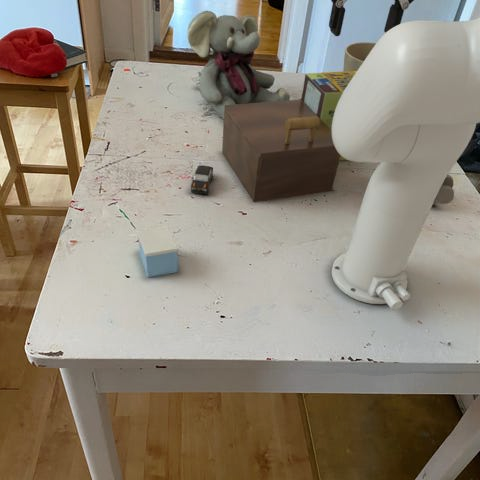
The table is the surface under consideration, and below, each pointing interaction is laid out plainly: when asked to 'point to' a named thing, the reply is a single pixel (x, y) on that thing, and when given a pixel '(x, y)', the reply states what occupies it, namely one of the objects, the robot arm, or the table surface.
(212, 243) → the table surface
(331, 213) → the table surface
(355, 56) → the plant pot
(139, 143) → the table surface
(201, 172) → the toy car
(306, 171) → the chest
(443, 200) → the figurine character
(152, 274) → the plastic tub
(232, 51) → the plush elephant
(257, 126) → the lid
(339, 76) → the protein box
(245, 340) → the table surface
